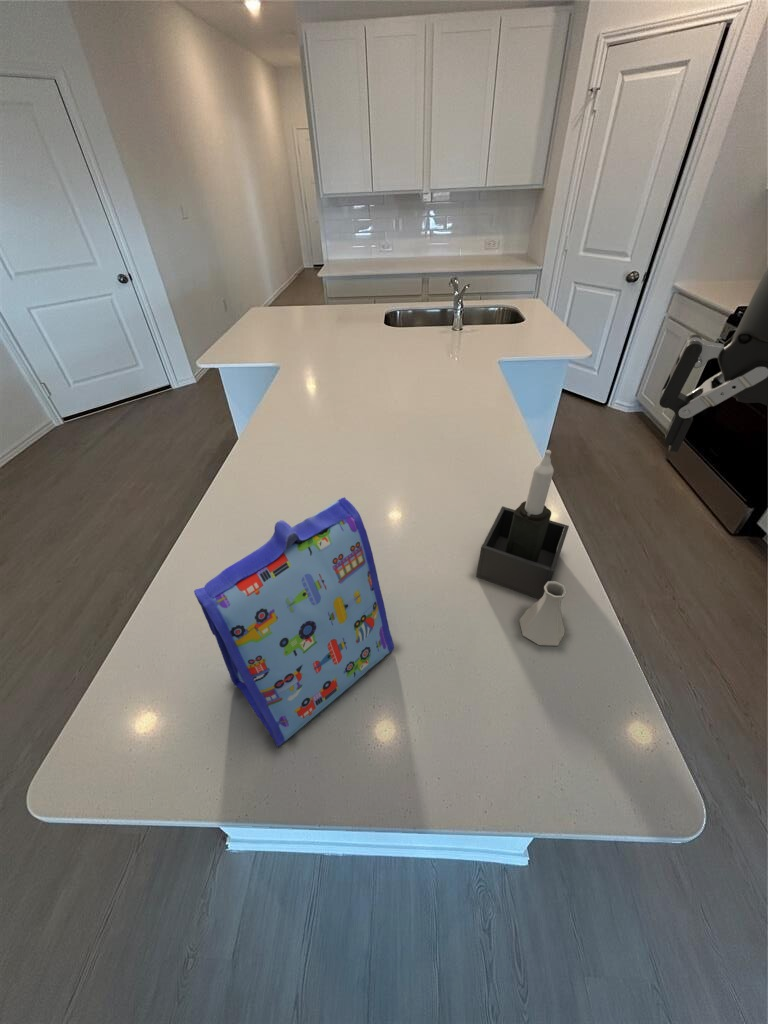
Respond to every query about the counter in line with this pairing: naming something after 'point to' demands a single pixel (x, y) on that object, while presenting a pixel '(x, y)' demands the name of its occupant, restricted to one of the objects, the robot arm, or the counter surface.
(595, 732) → the counter surface
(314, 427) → the counter surface
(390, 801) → the counter surface
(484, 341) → the counter surface
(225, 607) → the lunch bag
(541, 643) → the flask
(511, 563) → the bin
